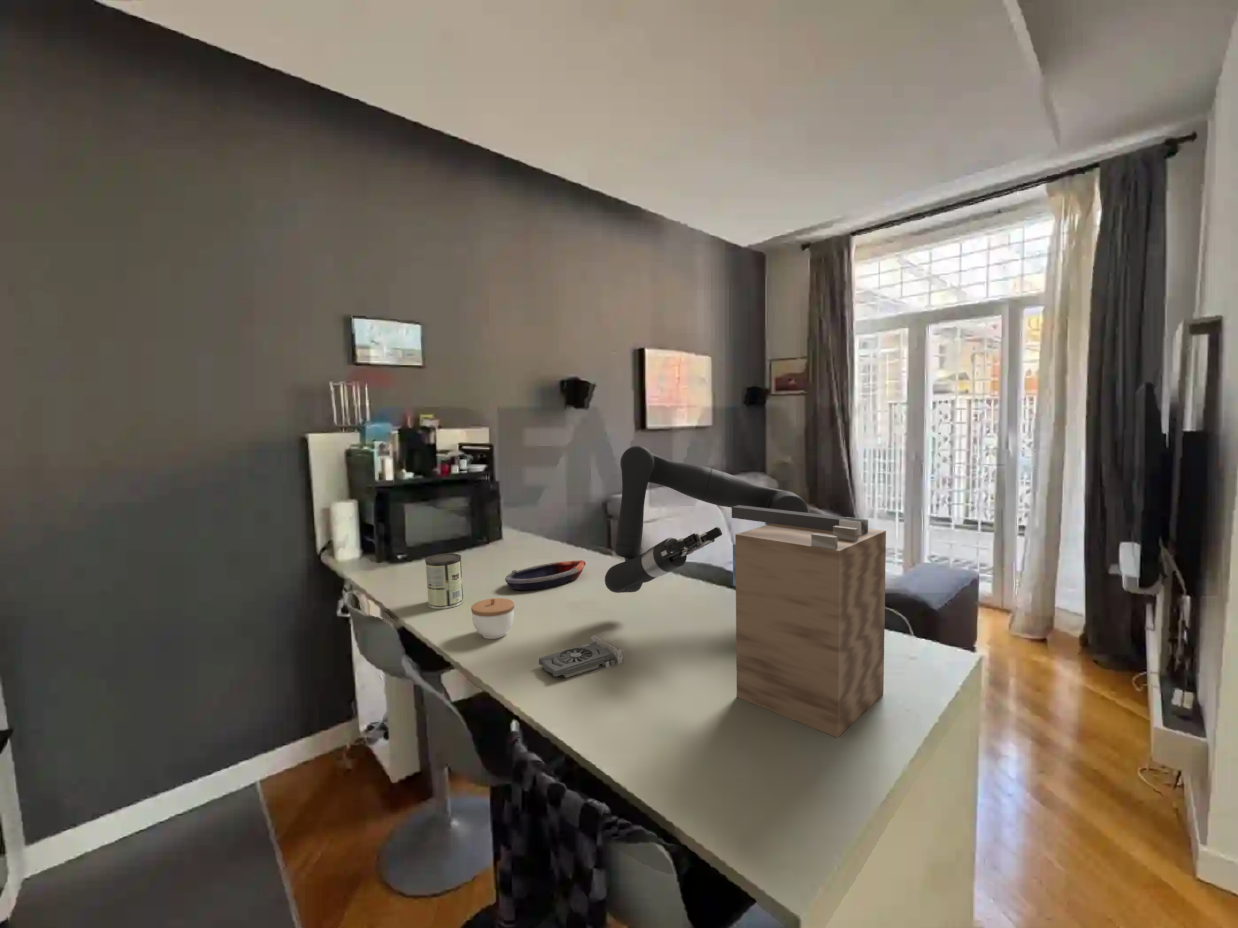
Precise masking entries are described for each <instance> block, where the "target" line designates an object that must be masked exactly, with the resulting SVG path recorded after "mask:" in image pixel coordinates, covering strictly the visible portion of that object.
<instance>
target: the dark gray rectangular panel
mask: <svg viewBox="0 0 1238 928" xmlns="http://www.w3.org/2000/svg"><path fill="white" fill-rule="evenodd" d="M731 518H732V519H738V520H746V521H752V522H760V523H761V522H762V523H765V524H766V523H768V524H772V523H774V524H781V525H789V526H796V527H804V528H811V529H819V530H826V531H833V526H843V527H851V528H858V535H863V534H865V533H868V529H869V519H866V518H858V517H857V518H856V517H851V516H850V517H849V516H837V515H828V514H820V513H819V514H818V513H812V512H808V513H804V512H795V511H786V510H777V509H769V508H760V507H751V506H742V505H738V506H734V507H732V508H731Z"/></svg>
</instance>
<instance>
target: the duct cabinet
mask: <svg viewBox="0 0 1238 928" xmlns="http://www.w3.org/2000/svg"><path fill="white" fill-rule="evenodd" d="M886 544H887V530H882V529H876V528H868V533H865V534H863V535H858V528H851V527H843V526H833V531H826V530H819V529H811V528H804V527H796V526H789V525H781V524H774V523H768V524H766V525H763V526H760V527H755V528H753V529H749V530H745V531H741V532H738V533H735V543H733V544H732V586H734V587H735V636H736V638H735V640H736V641H735V642H736V644H735V645H736V649H735V650H736V651H735V655H736V658H735V659H736V660H735V661H736V698H739V699H741V700H744V701H746V702H748V703H751V704H754V705H755V706H759V707H761V708H762V709H763V708H764V709H766V710H768V711H771V712H773V713H776V714H778V715H781V716H782V717H786V718H788V719H790V720H793V721H796V722H799V723H800V724H803V725H805V726H808V727H811V728H813V729H815V730H818V731H820V732H822V733H825V734H828V735H831V736H833V737H835V738H837V739H838V738H839V737H840V736H841V735H843V734H844V733H845V732H846V731H847V730H848V729H849V728H850V727H851V726H852V725H853V724H854V723H855V722H856V721H857V720H858V719H859V718H860V717H861V716H862V715H863V714H865V712H867V710H869V708H870V707H872V706H873V705H874V704H875V703H876V702H877V701H878V700H879V699H880V698H881V697H882V696H883V695H884V683H885V681H884V679H885V677H884V675H885V672H884V671H885V621H886V620H885V618H886V616H885V613H886V610H885V609H886V557H887V556H886V554H887V553H886V551H887V550H886V548H887V546H886Z"/></svg>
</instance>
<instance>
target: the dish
mask: <svg viewBox="0 0 1238 928" xmlns="http://www.w3.org/2000/svg"><path fill="white" fill-rule="evenodd" d="M585 566H586V561H585V560H568V561H558V562H557V561H556V562H549V563H544V564H538V565H534V566H531V567H529V566H528V567H525V568H522V569H519V570H517V569H513V570H512V571H511V572H510V573H509V574H508V575H506V576H505V578H504V580H505V583H506V584H507V586H508V587H509V588H511V589H512V590H518V591H519V590H520V591H529V590H530V591H531V590H539V589H540V590H541V589H546V588H552V587H556V586H559V585H563V584H566V583H570V582H571V581H574V580H576V579H578V578H579V576H580V575H581V574H582V572H583V570H584V568H585Z"/></svg>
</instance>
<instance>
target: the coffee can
mask: <svg viewBox="0 0 1238 928" xmlns="http://www.w3.org/2000/svg"><path fill="white" fill-rule="evenodd" d="M424 561H425V570H426V571H425V572H426V573H425V574H426V587H427V599H428V602H427V605H428V608H430V609H433V610H444V609H446V610H447V609H451V608H455V607H458V606H460V605H462V604H463V602H464V591H463V590H464V589H463V576H462V575H463V572H462V555H461V554H458V553H449V552H448V553H440V554H434V555H431V556H428V557H426V558H425V559H424Z"/></svg>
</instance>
